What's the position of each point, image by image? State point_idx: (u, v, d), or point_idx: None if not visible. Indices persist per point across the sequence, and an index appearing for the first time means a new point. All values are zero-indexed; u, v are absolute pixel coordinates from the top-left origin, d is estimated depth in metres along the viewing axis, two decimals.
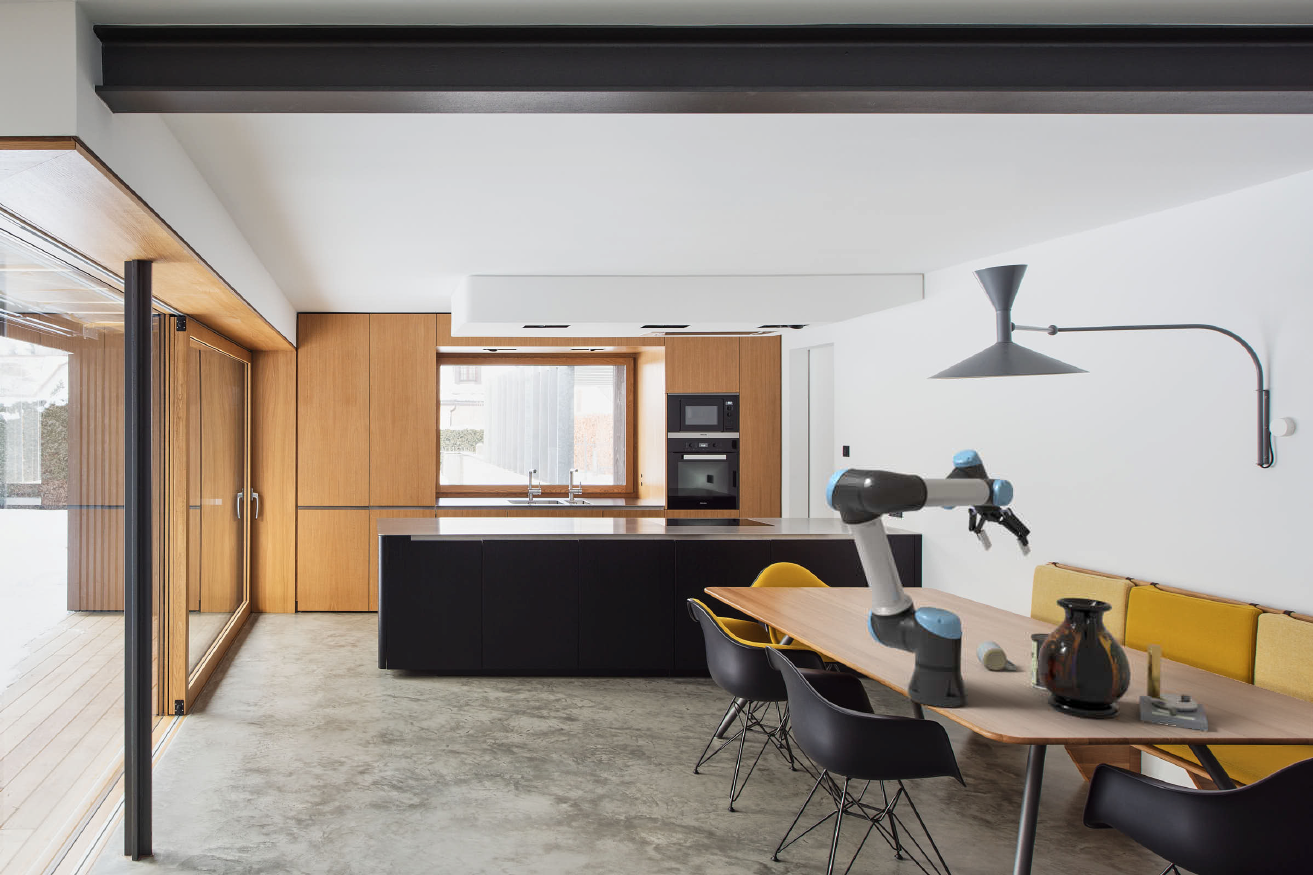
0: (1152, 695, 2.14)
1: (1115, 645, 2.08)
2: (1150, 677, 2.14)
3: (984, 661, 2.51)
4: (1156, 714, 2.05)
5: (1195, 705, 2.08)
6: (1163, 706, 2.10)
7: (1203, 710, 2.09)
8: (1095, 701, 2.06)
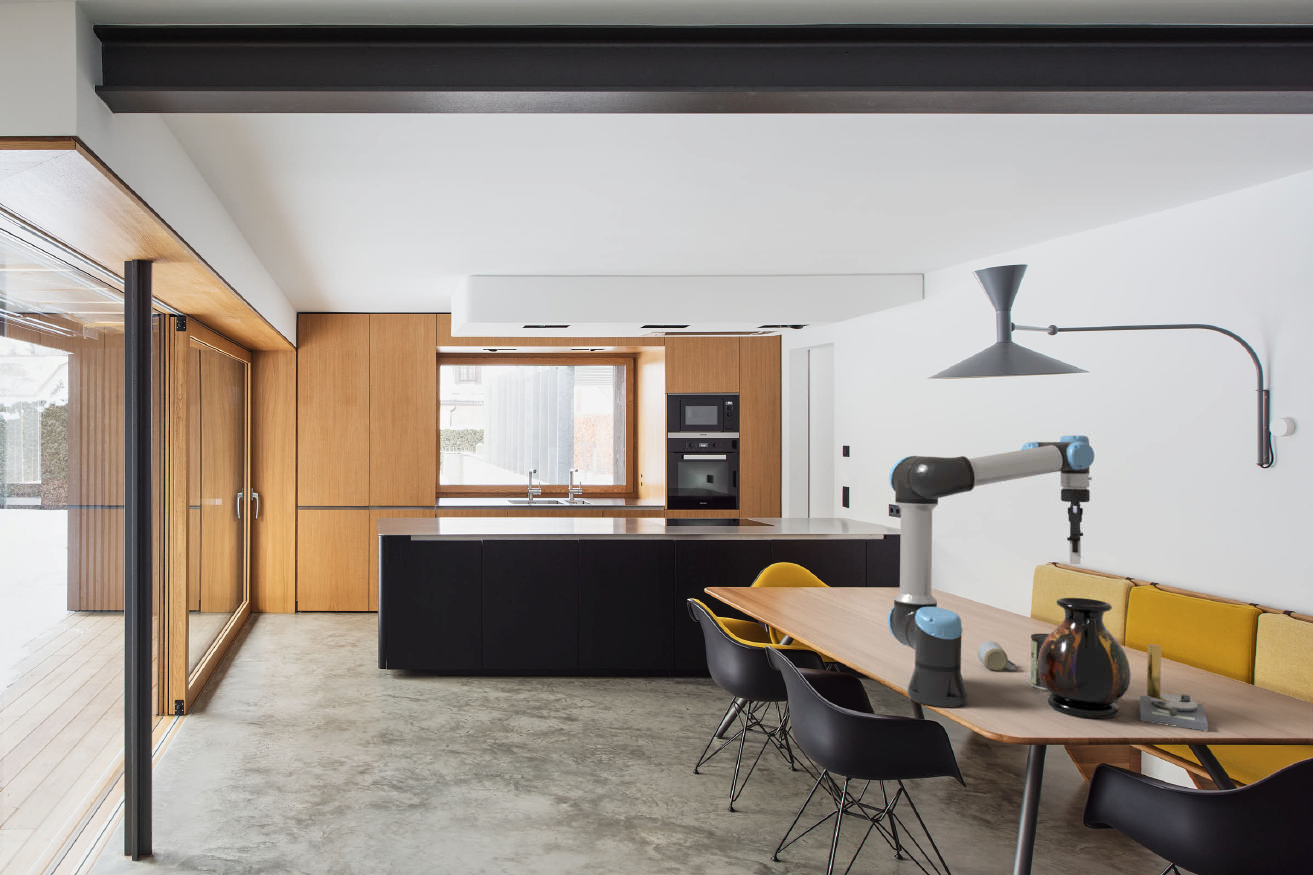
0: (1152, 695, 2.14)
1: (1115, 645, 2.08)
2: (1150, 677, 2.14)
3: (985, 661, 2.51)
4: (1156, 714, 2.05)
5: (1195, 705, 2.08)
6: (1163, 706, 2.10)
7: (1203, 710, 2.09)
8: (1095, 701, 2.06)
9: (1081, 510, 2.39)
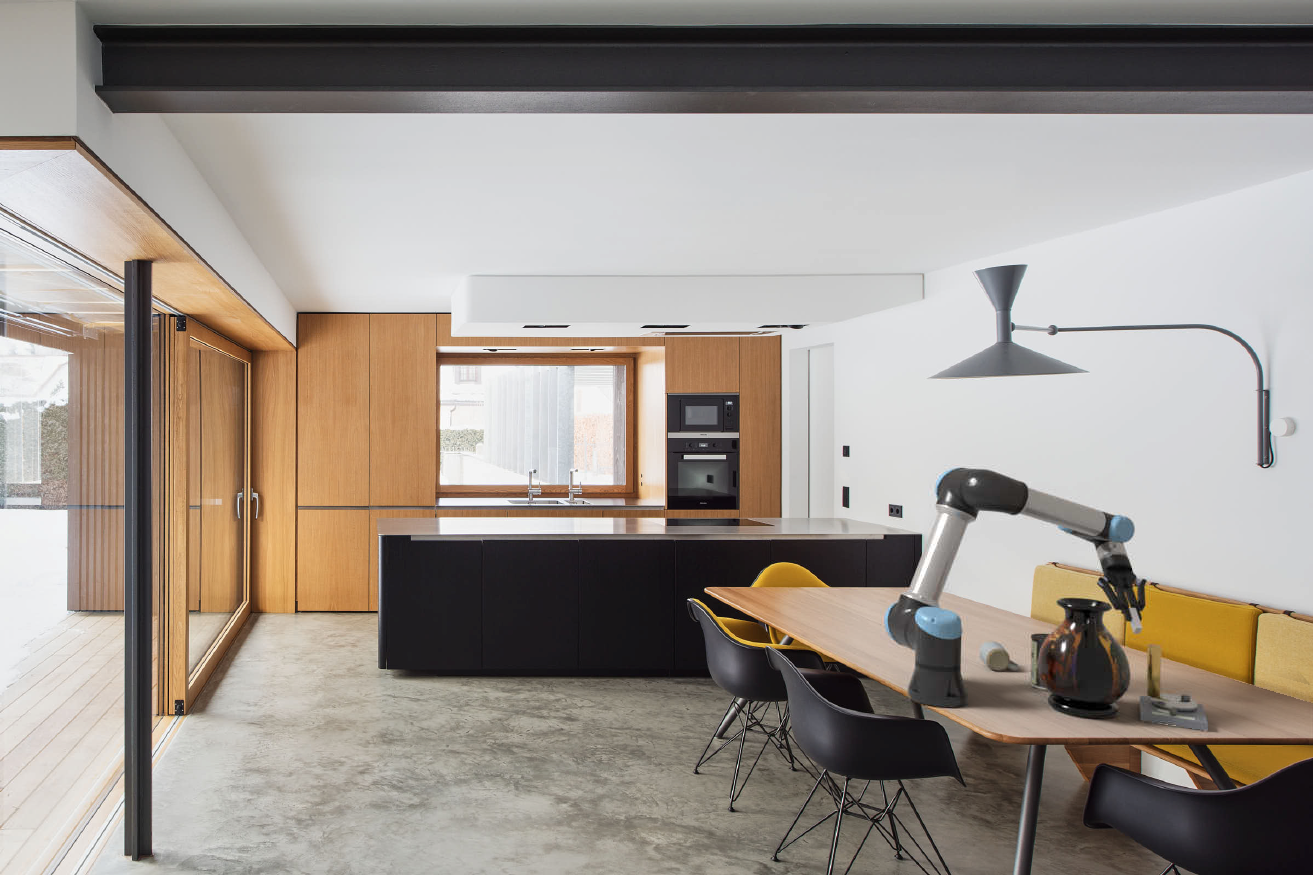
0: (1152, 695, 2.14)
1: (1115, 645, 2.08)
2: (1150, 677, 2.14)
3: (987, 661, 2.51)
4: (1156, 714, 2.05)
5: (1195, 705, 2.08)
6: (1163, 706, 2.10)
7: (1203, 710, 2.09)
8: (1095, 701, 2.06)
9: (1115, 576, 2.36)
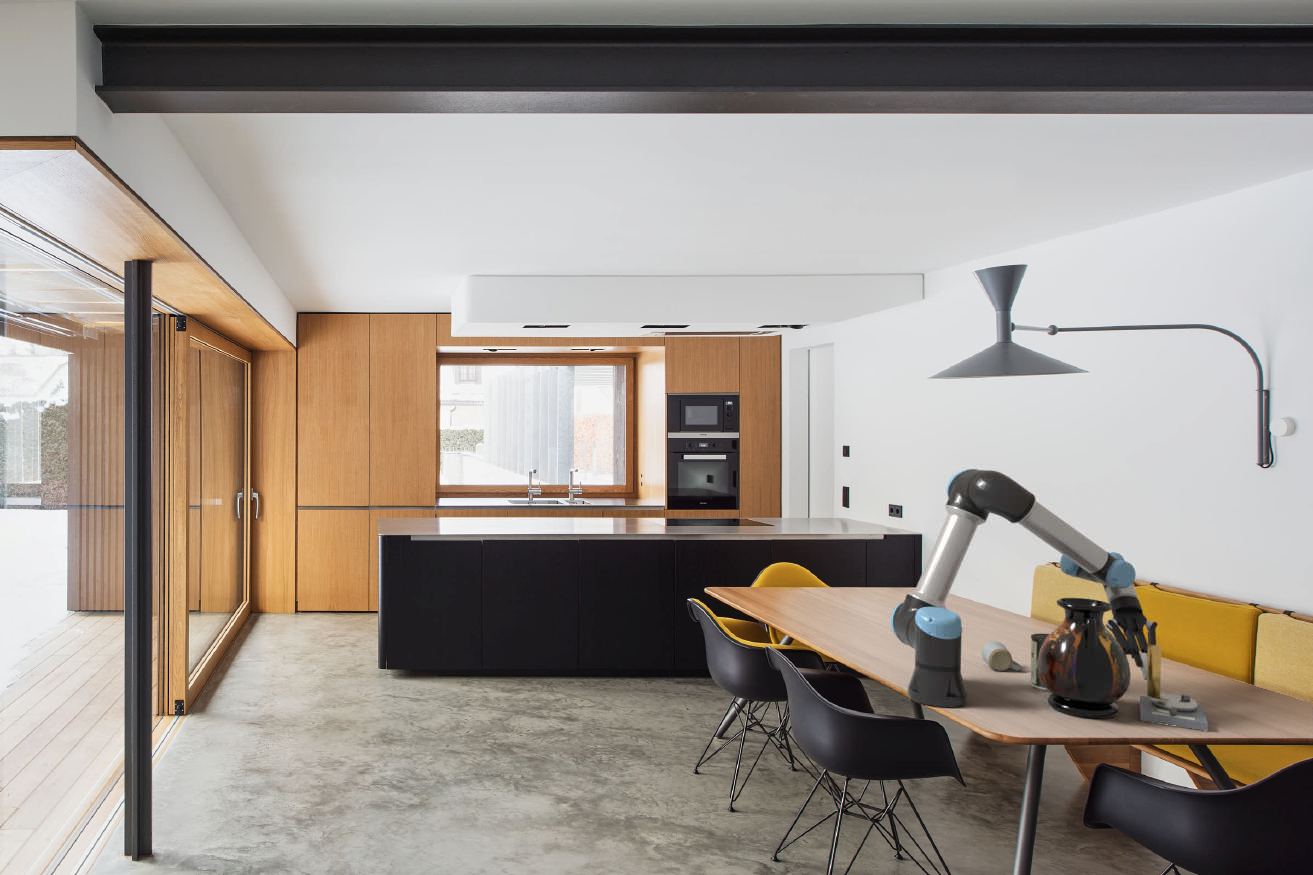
0: (1152, 695, 2.13)
1: (1115, 645, 2.08)
2: (1150, 677, 2.14)
3: (989, 661, 2.51)
4: (1156, 714, 2.05)
5: (1195, 705, 2.08)
6: (1163, 706, 2.09)
7: (1203, 710, 2.09)
8: (1095, 701, 2.06)
9: (1125, 618, 2.28)
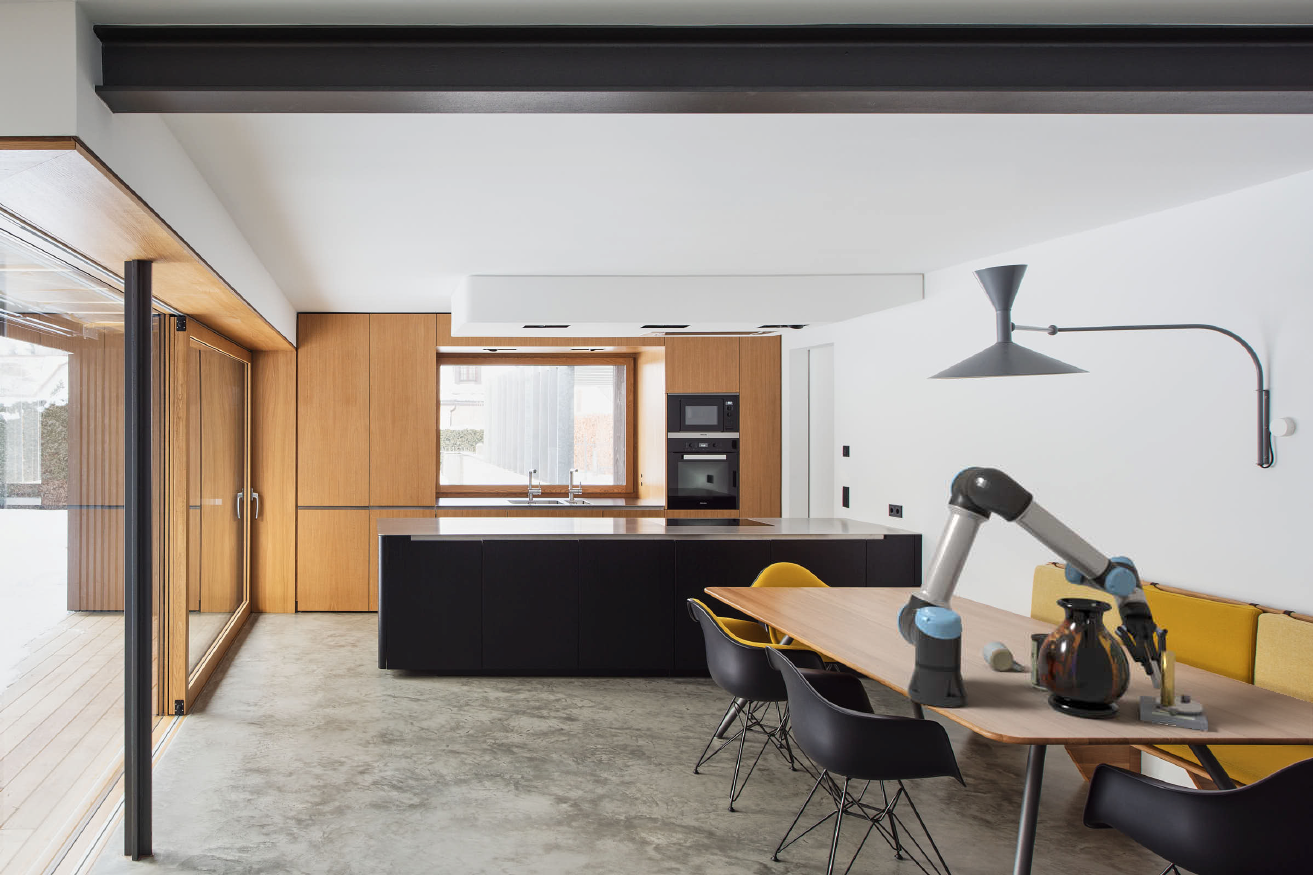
0: (1172, 703, 2.07)
1: (1115, 645, 2.08)
2: (1170, 685, 2.07)
3: (991, 661, 2.51)
4: (1156, 714, 2.05)
5: None
6: (1191, 712, 2.05)
7: (1203, 710, 2.09)
8: (1095, 701, 2.06)
9: (1134, 625, 2.22)
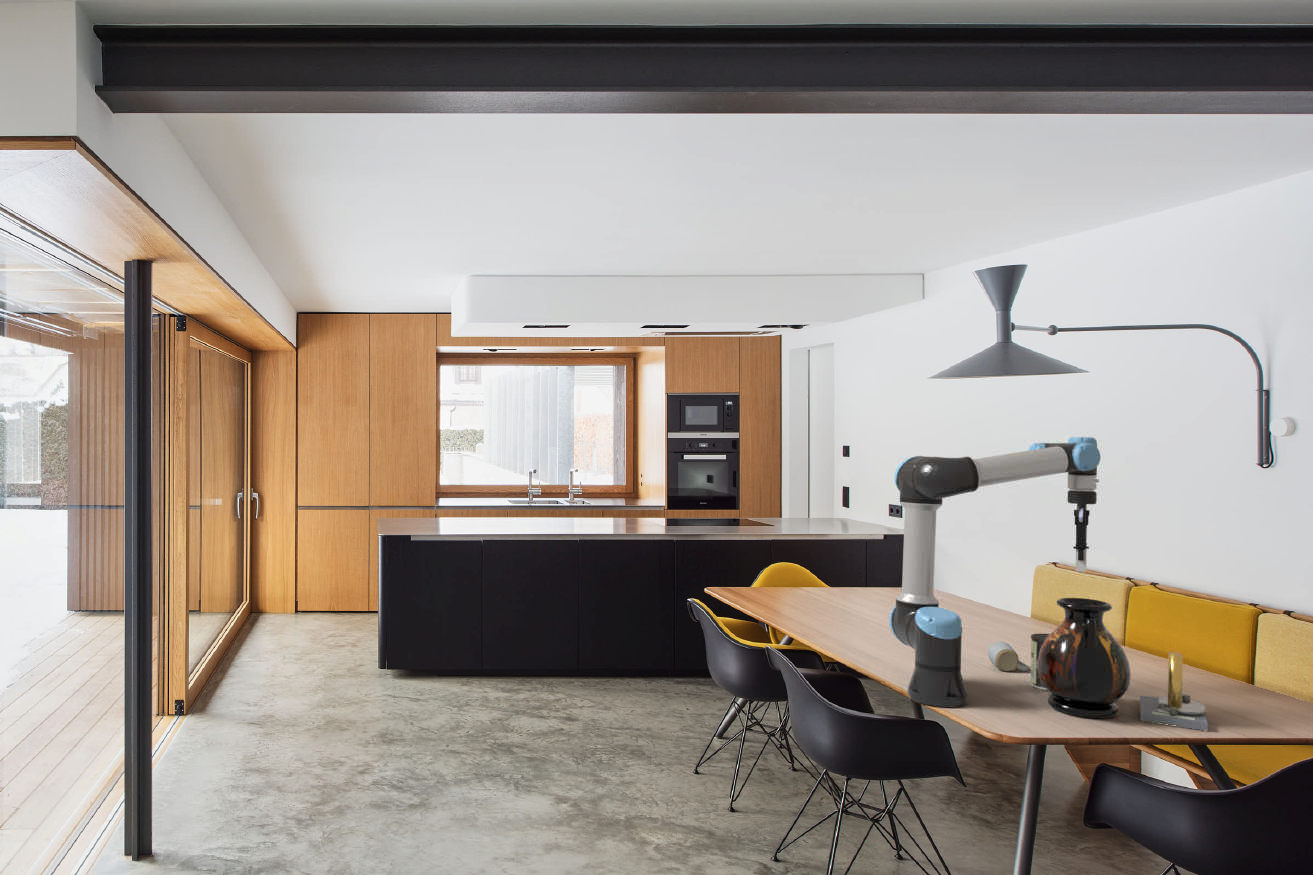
0: (1181, 705, 2.05)
1: (1115, 645, 2.08)
2: (1179, 687, 2.05)
3: (996, 662, 2.51)
4: (1156, 714, 2.05)
5: None
6: (1198, 713, 2.04)
7: None
8: (1095, 701, 2.06)
9: (1087, 514, 2.38)
